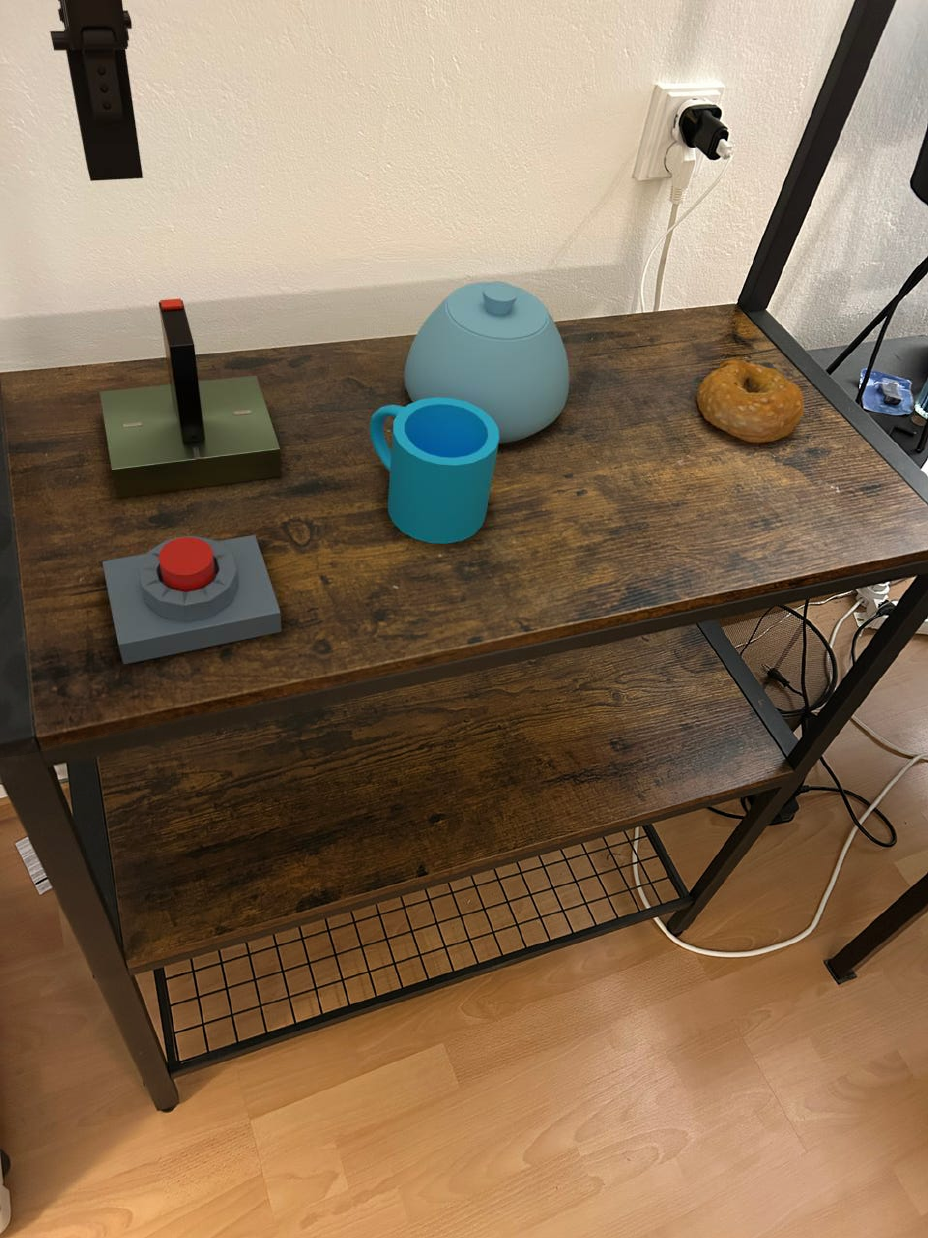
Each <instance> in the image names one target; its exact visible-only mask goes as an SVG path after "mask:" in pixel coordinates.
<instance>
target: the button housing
mask: <svg viewBox="0 0 928 1238" xmlns="http://www.w3.org/2000/svg"><path fill="white" fill-rule="evenodd" d="M183 537H192V538H198V539H200V540H203V541H204V542H206V543H207V544H208V545H209V546H210V547H211V549H212V551H213V558H214V566H215V575H214V577H213V579H212V581H211V582H210V583H209V584H208V585H207V586H205V587H203V588H201V589H199V590H194V591H188V592H184V591H178V590H175V589H172V588H170V587H169V586H168V585H167V584H166V583H165V582H164V581H163V578H162V574H161V568H160V563H159V553H160V551H161V549H162V548H163V547H164V546H165V545H166V544H167V543H169V542H170V541H172V540H175V539H178V538H183ZM258 542H259V541H258V539H257V536H256V534H252V535H245V536H240V537H233V538H229V539H224V540H223V539H222V540H216V539H213V538H208V537H204V536H203V537H202V536H197V535H185V536H179V537H173V538H168V539H166V540H164V541H163V542H161V543H160V544H158V545H156V546H155V547H153V548H151V549H150V550H148V551H147V552H146V553H143V554H135V555H133V556H125V557H121V558H114V559H109V560H108V559H107V560H104V561H102V562H101V563H102V568H103V573H104V578H105V583H106V589H107V593H108V599H109V604H110V609H111V614H112V619H113V624H114V625H113V626H114V630H115V636H116V640H117V645H118V649H119V653H120V657H121V661H122V664H123V665H130V664H134V663H138V662H143V661H147V660H152V659H158V658H162V657H167V656H173V655H176V654H177V655H178V654H181V653H186V652H191V651H195V650H200V649H206V648H209V647H215V646H220V645H226V644H229V643H234V642H239V641H244V640H248V639H249V640H250V639H254V638H259V637H264V636H268V635H273V634H278V633H282V629H283V628H282V612H281V609H280V606H279V603H278V600H277V596H276V594H275V590H274V587H273V584H272V582H271V578H270V576H269V572H268V570H267V567H266V563H265V559H264V558H263V555H262V551H261V548H260V546H259V543H258Z"/></svg>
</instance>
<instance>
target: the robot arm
mask: <svg viewBox="0 0 928 1238" xmlns="http://www.w3.org/2000/svg"><path fill="white" fill-rule="evenodd" d="M57 2H58V3H59V6H60V7H59V8H57V13H58V18H59V22H61V24H63V28H64V29H63V30H50V31H49V33H50V38H51V43H52V47H53V51H55V52H57V51H61V52H62V51H65V53H66V59H67V64H68V69H69V76H70V81H71V86H72V91H73V97H74V98H73V99H74V103H75V108H76V113H77V121H78V125H79V130H80V135H81V141H82V146H83V152H84V158H85V164H86V168H87V169H86V170H87V173H88V177H89V180H90V182H95V181H112V180H113V181H114V180H115V181H116V180H131V179H133V180H134V179H144V174H143V167H142V159H141V153H140V146H139V145H140V144H139V138H138V131H137V124H136V123H137V122H136V117H135V110H134V102H133V94H132V88H131V81H130V73H129V67H128V66H129V65H128V59H127V51H126V50H128V47H129V41H130V36H129V35H130V34H129V30H132V29H133V25H132V18H131V16H130V13H129V10H125V9H124V5H123V0H57Z"/></svg>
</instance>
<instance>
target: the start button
mask: <svg viewBox="0 0 928 1238" xmlns="http://www.w3.org/2000/svg"><path fill="white" fill-rule="evenodd" d="M182 537H183V538H179V537H177V538H178V539H175V540H172V541H170V542H169V543H167V544H166V545H165V546H164V547H163V548H162V549H161V551H160V553H159V563H160V568H161V574H162V578H163V581H164V582H165V583H166V584H167V585H168V586H169V587H170V588H172V589H175V590H178V591H184V592H188V591H194V590H199V589H201V588H203V587H205V586H207V585H208V584H209V583H210V582H211V581H212V579H213V577H214V575H215V566H214V558H213V551H212V549H211V547H210V546H209V545H208V544H207V543H206V542H204V541H203V540H200V539H198V538H192V537H185V536H182Z"/></svg>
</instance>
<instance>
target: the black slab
mask: <svg viewBox="0 0 928 1238" xmlns="http://www.w3.org/2000/svg"><path fill="white" fill-rule="evenodd" d="M158 308H159V315H160V317H159V318H160V322H161V331H162V337H163V345H164V351H165V358H166V365H167V371H168V379H169V384H170V387H171V394H172V400H173V404H174V409H175V413H176V417H177V422H178V426H179V430H180V435H181V439H182V443H189V442H197V441H205V433H204V424H203V416H202V407H201V398H200V390H199V381H200V380H199V373H198V365H197V357H196V348H195V342H194V339H193V334H192V331H191V327H190V323H189V320H188V316H187V311H186V308H185V305H184V300H182V299H181V298H167V299H160V301H158Z"/></svg>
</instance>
